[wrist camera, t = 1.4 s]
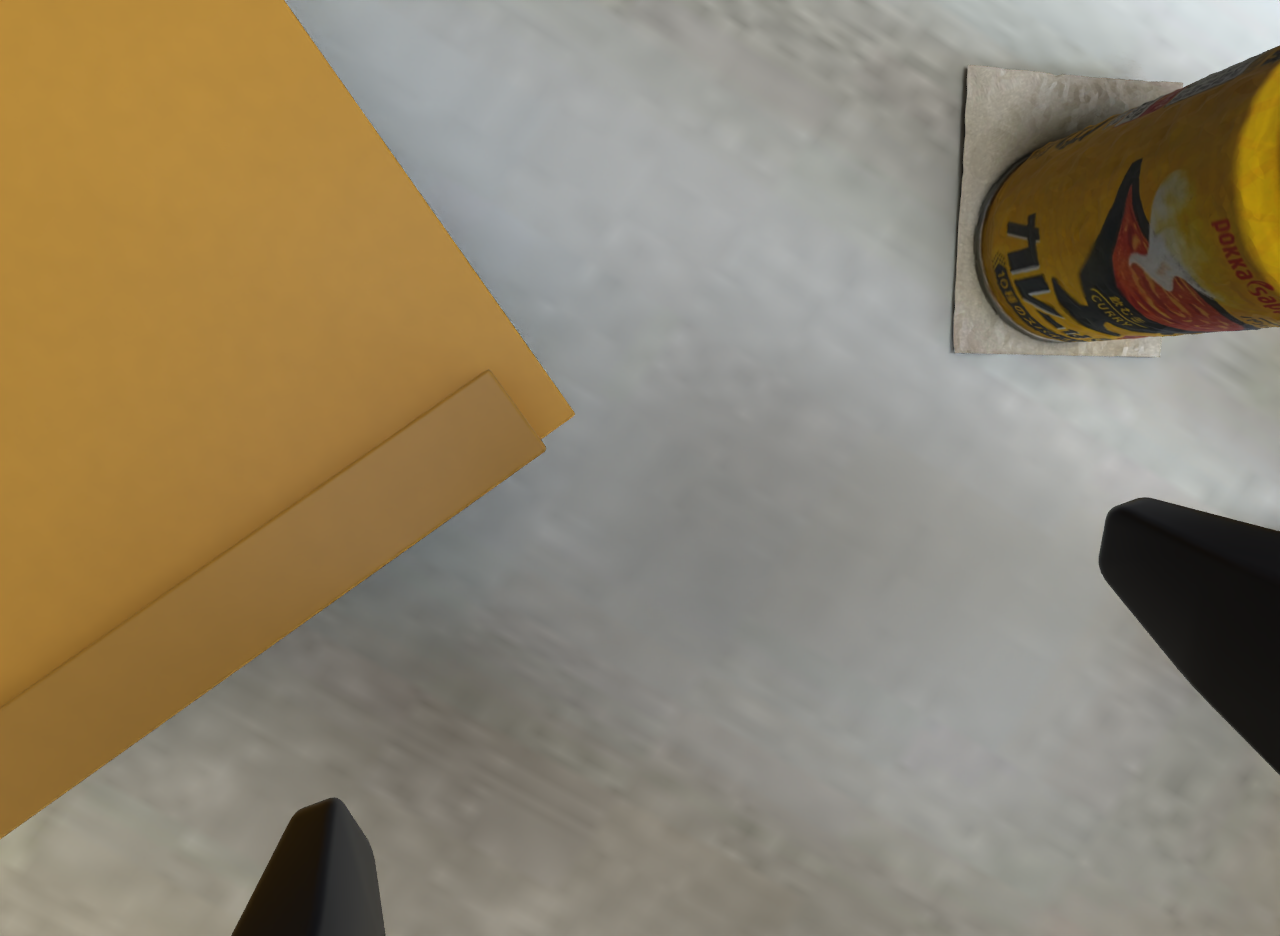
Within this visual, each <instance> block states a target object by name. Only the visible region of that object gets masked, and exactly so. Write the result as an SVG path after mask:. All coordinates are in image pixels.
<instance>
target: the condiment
mask: <svg viewBox="0 0 1280 936" xmlns="http://www.w3.org/2000/svg"><path fill="white" fill-rule="evenodd" d="M965 129H966V132H965V142H964V156H963V177H962V193H961V204H960V213H959V224H958V247H957V252H958V253H957V264H956V283H955V312H954V325H953V330H954V336H953V342H954V349H955V352H954V353H982V354H1024V355H1073V356H1130V357H1160V351H1161V337H1163V336H1178V335H1184V334H1201V333H1209V332H1219V331H1242V330H1257V329H1261V328H1269V327H1280V46H1278V47H1275V48H1273V49H1270V50H1267V51H1265V52H1263V53H1262V54H1259V55H1257V56H1254V57H1251V58H1249V59H1247V60H1245V61H1243V62H1241V63H1238V64H1235V65H1233V66H1231V67H1228V68H1226V69H1224V70H1222V71H1220V72H1217V73H1213V74H1210V75H1209V76H1207V77H1205V78H1203V79H1200V80H1198V81H1196V82H1194V83H1192V84H1190V85H1188V86H1186V87H1184V88H1183V83H1178V82H1165V81H1161V82H1148V81H1139V80H1124V79H1113V78H1094V77H1085V76H1076V75H1065V74H1063V75H1057V76H1055V75H1053V74H1051V73H1045V72H1035V71H1029V70H1010V69H1002V68H998V67H988V66H976V65H968V71H967V101H966V109H965Z"/></svg>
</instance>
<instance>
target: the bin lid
mask: <svg viewBox="0 0 1280 936" xmlns="http://www.w3.org/2000/svg"><path fill="white" fill-rule="evenodd" d="M574 415H575V413H574V411H573V410H572V408H571V407H570V406H569V404H568V403H567V401H566V400H565V398H564V397H563V396H562V394H561V393H560V391H559V390H558V388H557V387H556V386H555V384H554V383H553V381H552V380H551V379H550V377H549V376H548V374H547V373H546V371H545V370H544V369H543V367H542V366H541V364H540V363H539V362H538V360H537V359H536V357H535V356H534V354H533V353H532V352H531V350H530V349H529V347H528V346H527V344H526V343H525V342H524V340H523V339H522V337H521V336H520V335H519V333H518V332H517V330H516V329H515V327H514V326H513V325H512V323H511V322H510V320H509V319H508V317H507V316H506V315H505V313H504V312H503V310H502V309H501V308H500V306H499V305H498V303H497V302H496V300H495V299H494V298H493V296H492V295H491V293H490V292H489V290H488V289H487V288H486V286H485V285H484V283H483V282H482V281H481V279H480V278H479V276H478V275H477V273H476V272H475V271H474V269H473V268H472V266H471V265H470V263H469V262H468V261H467V259H466V258H465V256H464V255H463V254H462V252H461V251H460V249H459V248H458V246H457V245H456V244H455V242H454V241H453V239H452V238H451V237H450V235H449V234H448V232H447V231H446V229H445V228H444V227H443V225H442V224H441V222H440V221H439V219H438V218H437V217H436V215H435V214H434V212H433V211H432V210H431V208H430V207H429V205H428V204H427V202H426V201H425V200H424V198H423V197H422V195H421V194H420V192H419V191H418V190H417V188H416V187H415V185H414V184H413V183H412V181H411V180H410V178H409V177H408V175H407V174H406V173H405V171H404V170H403V168H402V167H401V165H400V164H399V163H398V161H397V160H396V158H395V157H394V156H393V154H392V153H391V151H390V150H389V148H388V147H387V146H386V144H385V143H384V141H383V140H382V138H381V137H380V136H379V134H378V133H377V131H376V130H375V129H374V127H373V126H372V124H371V123H370V121H369V120H368V119H367V117H366V116H365V114H364V113H363V112H362V110H361V109H360V107H359V106H358V104H357V103H356V102H355V100H354V99H353V97H352V96H351V94H350V93H349V92H348V90H347V89H346V87H345V86H344V85H343V83H342V82H341V80H340V79H339V77H338V76H337V75H336V73H335V72H334V70H333V69H332V67H331V66H330V65H329V63H328V62H327V60H326V59H325V58H324V56H323V55H322V53H321V52H320V50H319V49H318V48H317V46H316V45H315V43H314V42H313V40H312V39H311V38H310V36H309V35H308V33H307V32H306V31H305V29H304V28H303V26H302V25H301V23H300V22H299V21H298V19H297V18H296V16H295V15H294V14H293V12H292V11H291V9H290V8H289V6H288V5H287V4H286V2H285V1H284V0H0V839H1V838H3V837H4V836H6V835H7V834H8V833H10V832H11V831H13V830H14V829H15V828H17V827H18V826H20V825H21V824H22V823H24V822H25V821H27V820H28V819H29V818H31V817H32V816H34V815H35V814H36V813H38V812H39V811H41V810H42V809H44V808H45V807H46V806H48V805H49V804H51V803H52V802H53V801H55V800H56V799H58V798H59V797H60V796H62V795H63V794H65V793H66V792H67V791H69V790H70V789H72V788H73V787H74V786H76V785H77V784H79V783H80V782H81V781H83V780H84V779H86V778H87V777H88V776H90V775H91V774H93V773H94V772H95V771H97V770H98V769H100V768H101V767H102V766H104V765H105V764H107V763H108V762H110V761H111V760H112V759H114V758H115V757H117V756H118V755H119V754H121V753H122V752H124V751H125V750H126V749H128V748H129V747H131V746H132V745H133V744H135V743H136V742H138V741H139V740H140V739H142V738H143V737H145V736H146V735H147V734H149V733H150V732H152V731H153V730H154V729H156V728H157V727H159V726H160V725H161V724H163V723H164V722H166V721H167V720H168V719H170V718H171V717H173V716H174V715H176V714H177V713H178V712H180V711H181V710H183V709H184V708H185V707H187V706H188V705H190V704H191V703H192V702H194V701H195V700H197V699H198V698H199V697H201V696H202V695H204V694H205V693H206V692H208V691H209V690H211V689H212V688H213V687H215V686H216V685H218V684H219V683H220V682H222V681H223V680H225V679H226V678H227V677H229V676H230V675H232V674H233V673H235V672H236V671H237V670H239V669H240V668H242V667H243V666H244V665H246V664H247V663H249V662H250V661H251V660H253V659H254V658H256V657H257V656H258V655H260V654H261V653H263V652H264V651H265V650H267V649H268V648H270V647H271V646H272V645H274V644H275V643H277V642H278V641H279V640H281V639H282V638H284V637H285V636H286V635H288V634H289V633H291V632H292V631H293V630H295V629H296V628H298V627H299V626H301V625H302V624H303V623H305V622H306V621H308V620H309V619H310V618H312V617H313V616H315V615H316V614H317V613H319V612H320V611H322V610H323V609H324V608H326V607H327V606H329V605H330V604H331V603H333V602H334V601H336V600H337V599H338V598H340V597H341V596H343V595H344V594H345V593H347V592H348V591H350V590H351V589H352V588H354V587H355V586H357V585H358V584H359V583H361V582H362V581H364V580H365V579H367V578H368V577H369V576H371V575H372V574H374V573H375V572H376V571H378V570H379V569H381V568H382V567H383V566H385V565H386V564H388V563H389V562H390V561H392V560H393V559H395V558H396V557H397V556H399V555H400V554H402V553H403V552H404V551H406V550H407V549H409V548H410V547H411V546H413V545H414V544H416V543H417V542H418V541H420V540H421V539H423V538H424V537H426V536H427V535H428V534H430V533H431V532H433V531H434V530H435V529H437V528H438V527H440V526H441V525H442V524H444V523H445V522H447V521H448V520H449V519H451V518H452V517H454V516H455V515H456V514H458V513H459V512H461V511H462V510H463V509H465V508H466V507H468V506H469V505H470V504H472V503H473V502H475V501H476V500H477V499H479V498H480V497H482V496H483V495H484V494H486V493H487V492H489V491H490V490H492V489H493V488H494V487H496V486H497V485H499V484H500V483H501V482H503V481H504V480H506V479H507V478H508V477H510V476H511V475H513V474H514V473H515V472H517V471H518V470H520V469H521V468H522V467H524V466H525V465H527V464H528V463H529V462H531V461H532V460H534V459H535V458H536V457H538V456H539V455H541V454H542V453H543V452H545V450H546V446H545V445H544V443H543V442H542V441H541V439H542V438H544V437H545V436H547V435H548V434H549V433H551V432H552V431H554V430H555V429H556V428H558V427H559V426H561V425H562V424H563V423H565V422H566V421H568V420H569V419H571V418H572V417H573V416H574Z"/></svg>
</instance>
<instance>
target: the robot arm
mask: <svg viewBox="0 0 1280 936" xmlns="http://www.w3.org/2000/svg"><path fill="white" fill-rule="evenodd" d="M1099 567H1100V570H1101V573H1102V575H1103V577H1104V579H1105V580H1106V581H1107V583H1108V584H1109V585H1110V587H1111V588H1112V589H1113V590H1114V591H1115V593H1116V594H1117V595H1118V596H1119V598H1120V599H1121V600H1122V601H1123V602H1124V604H1125V605H1126V606H1127V607H1128V609H1129V610H1130V611H1131V612H1132V613H1133V615H1134V616H1135V617H1136V618H1137V620H1138V621H1139V622H1140V623H1141V624H1142V626H1143V627H1144V628H1145V629H1146V631H1147V632H1148V633H1149V634H1150V636H1151V637H1152V638H1153V639H1154V640H1155V642H1156V643H1157V644H1158V645H1159V647H1160V648H1161V649H1162V650H1163V651H1164V653H1165V654H1166V655H1167V656H1168V658H1169V659H1170V660H1171V661H1172V662H1173V664H1174V665H1175V666H1176V667H1177V669H1178V670H1179V671H1180V672H1181V673H1182V674H1183V675H1184V677H1185V678H1186V679H1187V680H1188V681H1189V682H1190V684H1191V685H1192V686H1193V687H1194V688H1195V689H1196V690H1197V691H1198V692H1199V693H1200V694H1201V695H1202V696H1203V697H1204V699H1205V700H1206V701H1207V702H1208V703H1209V704H1210V705H1211V706H1212V707H1213V708H1214V709H1215V710H1216V711H1217V712H1218V713H1219V714H1220V715H1221V716H1222V717H1223V718H1224V719H1225V720H1226V721H1227V722H1228V723H1229V724H1230V725H1231V726H1232V727H1233V728H1234V729H1235V730H1236V731H1237V732H1238V733H1239V734H1240V735H1241V736H1242V737H1243V738H1244V739H1245V740H1246V741H1247V742H1248V743H1249V744H1250V745H1251V746H1252V747H1253V748H1254V749H1255V750H1256V751H1257V752H1258V753H1259V755H1260V756H1261V757H1262V758H1263V759H1264V760H1265V761H1266V762H1267V763H1268V764H1269V765H1270V766H1271V767H1272V768H1273V769H1274V770H1275V771H1276V772H1277V773H1278V774H1279V775H1280V531H1276V530H1272V529H1268V528H1264V527H1260V526H1257V525H1253V524H1249V523H1245V522H1241V521H1237V520H1233V519H1230V518H1226V517H1222V516H1218V515H1214V514H1210V513H1207V512H1203V511H1199V510H1195V509H1191V508H1187V507H1183V506H1180V505H1176V504H1172V503H1168V502H1164V501H1160V500H1157V499H1152V498H1145V497H1144V498H1137V499H1134V500H1131V501H1129V502H1126V503H1123V504H1121V505H1118V506H1115V507H1114V508H1112V509H1111V510H1110V511H1109V512H1108V514H1107V517H1106V520H1105V526H1104V531H1103V537H1102V542H1101V548H1100V553H1099ZM231 936H385V928H384V921H383V914H382V907H381V900H380V893H379V886H378V879H377V871H376V865H375V859H374V855H373V851H372V848H371V846H370V843H369V841H368V839H367V838H366V836H365V835H364V833H363V832H362V830H361V829H360V827H359V825H358V824H357V822H356V821H355V819H354V818H353V816H352V815H351V813H350V812H349V810H348V809H347V807H346V806H345V804H344V803H343V802H342V801H341V800H340V799H338V798H335V797H334V798H329V799H326V800H323V801H321V802H318V803H315V804H313V805H310V806H307V807H304V808H302V809H300V810H298V811H297V812H296V813H295V814H294V816H293V817H292V818H291V820H290V822H289V824H288V826H287V827H286V829H285V831H284V833H283V835H282V837H281V839H280V841H279V843H278V845H277V847H276V849H275V851H274V853H273V855H272V857H271V859H270V861H269V863H268V865H267V867H266V869H265V871H264V873H263V875H262V877H261V878H260V880H259V882H258V884H257V886H256V888H255V890H254V892H253V894H252V896H251V898H250V900H249V902H248V904H247V906H246V908H245V910H244V912H243V914H242V916H241V918H240V920H239V922H238V924H237V926H236V928H235V929H234V931H233V933H232V935H231Z"/></svg>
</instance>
